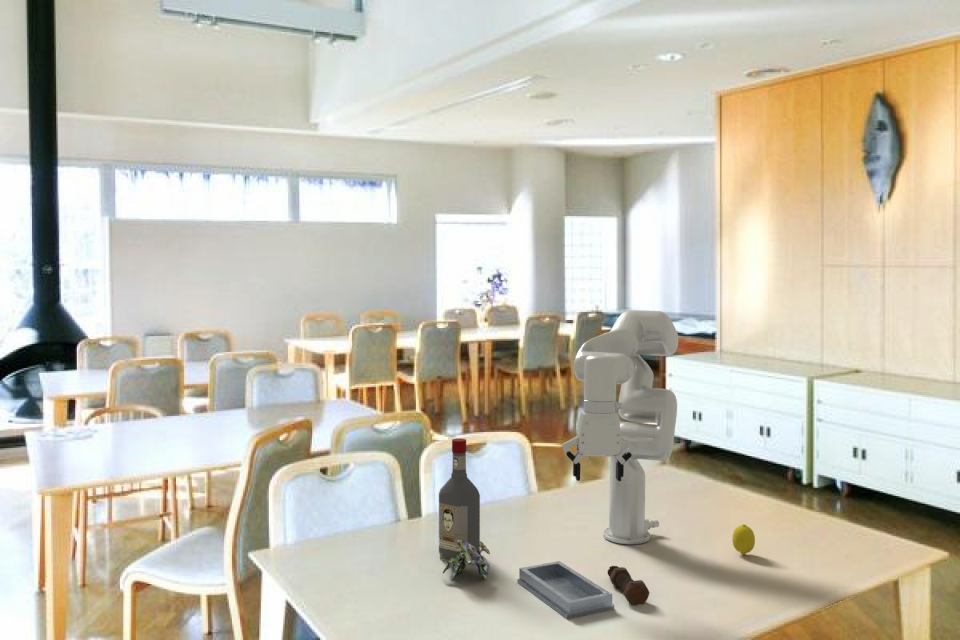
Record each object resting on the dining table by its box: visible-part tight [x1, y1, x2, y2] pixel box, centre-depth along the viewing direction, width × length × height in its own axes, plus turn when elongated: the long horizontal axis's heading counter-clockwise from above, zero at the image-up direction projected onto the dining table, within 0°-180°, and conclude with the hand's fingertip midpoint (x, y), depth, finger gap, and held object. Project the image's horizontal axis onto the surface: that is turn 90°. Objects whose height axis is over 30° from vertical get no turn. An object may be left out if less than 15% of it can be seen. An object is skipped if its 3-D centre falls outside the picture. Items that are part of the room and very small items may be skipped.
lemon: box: [731, 523, 756, 556], centre depth 211 cm, size 6×6×8 cm
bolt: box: [607, 565, 650, 606], centre depth 188 cm, size 6×5×15 cm
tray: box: [516, 560, 615, 620], centre depth 186 cm, size 12×22×3 cm, turn 26°
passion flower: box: [439, 540, 491, 582], centre depth 195 cm, size 11×11×12 cm
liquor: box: [438, 437, 481, 561], centre depth 210 cm, size 9×9×30 cm
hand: (598, 479), depth 195 cm, fingers open, 9 cm apart
